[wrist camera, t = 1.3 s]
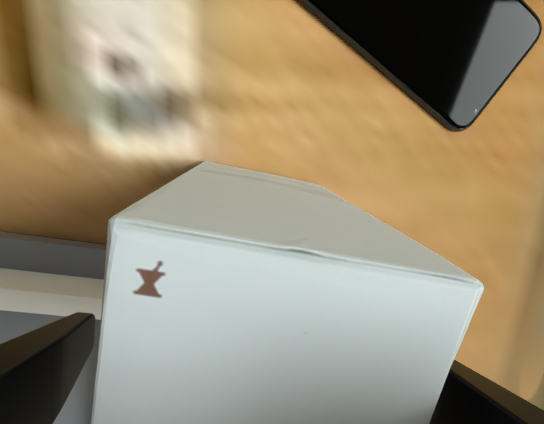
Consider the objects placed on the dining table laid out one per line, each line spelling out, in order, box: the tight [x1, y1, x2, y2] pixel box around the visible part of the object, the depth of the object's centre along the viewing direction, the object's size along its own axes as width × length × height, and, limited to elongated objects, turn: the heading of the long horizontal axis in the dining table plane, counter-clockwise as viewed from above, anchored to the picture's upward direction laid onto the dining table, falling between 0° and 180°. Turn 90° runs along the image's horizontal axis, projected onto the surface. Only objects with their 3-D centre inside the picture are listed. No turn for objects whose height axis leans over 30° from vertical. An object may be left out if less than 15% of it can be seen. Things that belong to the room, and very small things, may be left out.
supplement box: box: [91, 161, 484, 424], centre depth 12 cm, size 7×7×13 cm
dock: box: [0, 231, 107, 424], centre depth 18 cm, size 16×16×3 cm
